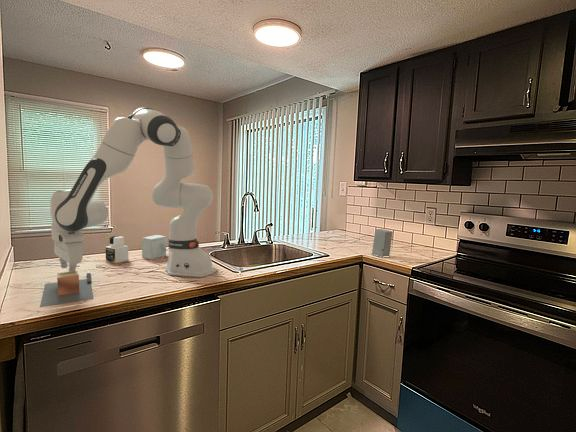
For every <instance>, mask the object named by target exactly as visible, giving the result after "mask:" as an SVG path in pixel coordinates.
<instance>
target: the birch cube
mask: <svg viewBox="0 0 576 432" xmlns="http://www.w3.org/2000/svg"><path fill="white" fill-rule="evenodd" d="M56 275H57V277H56V278H57V281H56V283H57V284H58V295H64V294H71V293H77V292H79V280H80V273H79V270H76V271H73V272H69V271H67V272H65V271H64V272H58V273H56Z"/></svg>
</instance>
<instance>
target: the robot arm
mask: <svg viewBox="0 0 576 432" xmlns="http://www.w3.org/2000/svg"><path fill="white" fill-rule="evenodd" d="M146 140H148V141H150V142H152V143H154V144H155V145H159V146H162V148H163V155H164V164H165V169H164V170H165V172H164V175H163V177H162V179H161V180H159V182H158V183H156V184H155V185H154V187H153V188H152V189H151V198H152V201H153V202H154V204H155V205H157V206H160V207H165V208H178V209H179V208H180V209H183V212H182V213H181V214H179V215H177V216H175V217H173V218H172V219H171V220H170V222H169V238H168V243H167V244H168V256H167V257H168V258H167V264H166V267H165V272H167V275H169V276H178V277H180V276H182V277H197V278H203V277H207V276H211V275H212V274H215V273H216V272H217V271H218V267H217V266H214V265H213V262H212V258H211V256H210V254H208V253H206V251H204V249H202V248H201V247H200V245H199V244H201V240H197V238H196V231H197V222H198V219H199V216H200V215H201V213H203V211H204V210H206V208H208V207H210V205H211V204H212V202H213V200H214V195H213V191H212V188H211V187H210V186H209V185H205V184H201V183H194V182H193V183H191V182H189V183H188V182H182V180H184V179H186V178H188V177H190V176H191V175H192V174H193V173H194V170H195V168H194V155H193V152H194V151H193V146H192V142H191V136H190V134H189V131H188V130H187V129H186V128H185V127H183V126H180V125H177V124H176V123H175V121H174V120H173V119H172V118H171V117H169V116H168V115H166V114H164V113H163V112H161V111H158V110H154V109H153V108H150V107H139V108H137V109H136V110H134V112H133V113H132V114H130V115H129V116H127V117H123V116H121V117H117V118H115V119H114V120H113V121H112V123H111V124H110V126H109V127H108V129H107V131H106V132H105V134H104V136H103V137H102V140H101V142H100V144H99V146H98V148H97V150H96V151H95V153H94V155H93V156H92V158H91V159H90V160H89V161H88V162H87V164H86V165H85V166H84V167H83V169H82V170H81V173H80V174H79V176H78V177H77V180H76V181H75V183H74V185H73V187H72V188H71V189H62V190H57V191H54V192H53V193H52V195H51V197H50V216H51V219H52V220H51V224H50V227H51V228H50V230H51V240H52V241H53V242H54V243H53V246H54V247H53V251H54V252H53V253H54V254H55V256H57V257H58V259H59V262H60V263H59V264H60V268H61V269H67V268H68V272H73V271H77V270H76V269H77V265H78V264H82V262H83V256H84V255H83V254H84V253H83V252H84V251H83V250H84V245H83V242H84V241H85V235H84V234H83V231H82V229H86V228H91V227H93V226H98V225H100V224H103V223H104V222H105V221H106V220H107V219H108V215H109V210H108V207H107V206H106V205H105V203H104V202H102V201H101V200H97V199H93V197H94V196H95V194H96V192H97V191H98V189H99V187H100V186H101V184H103V182H105V181H107V180H108V179H109V178H112V177H114V176H116V175H119V174H121V173H124V172H125V171H126V170H127V169H128V168H129V167H130V165H131V164H132V162H133V161H134V158H135V156H136V154H137V151H138V148H139V147H140V145H142V143H143V142H144V141H146Z"/></svg>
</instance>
